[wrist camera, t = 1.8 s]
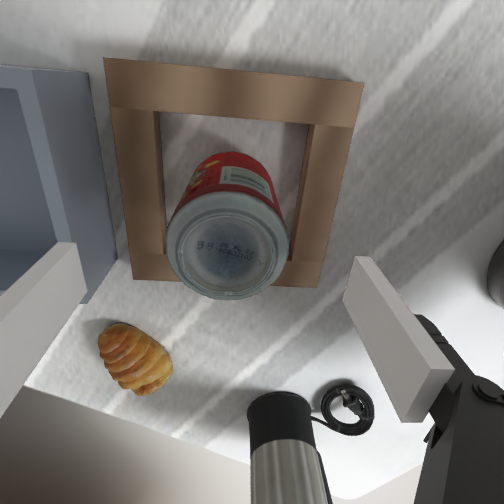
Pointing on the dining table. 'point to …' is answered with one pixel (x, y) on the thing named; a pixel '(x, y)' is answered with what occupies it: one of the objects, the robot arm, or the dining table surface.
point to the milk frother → (297, 444)
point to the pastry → (134, 359)
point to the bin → (51, 174)
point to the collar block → (237, 106)
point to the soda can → (228, 229)
